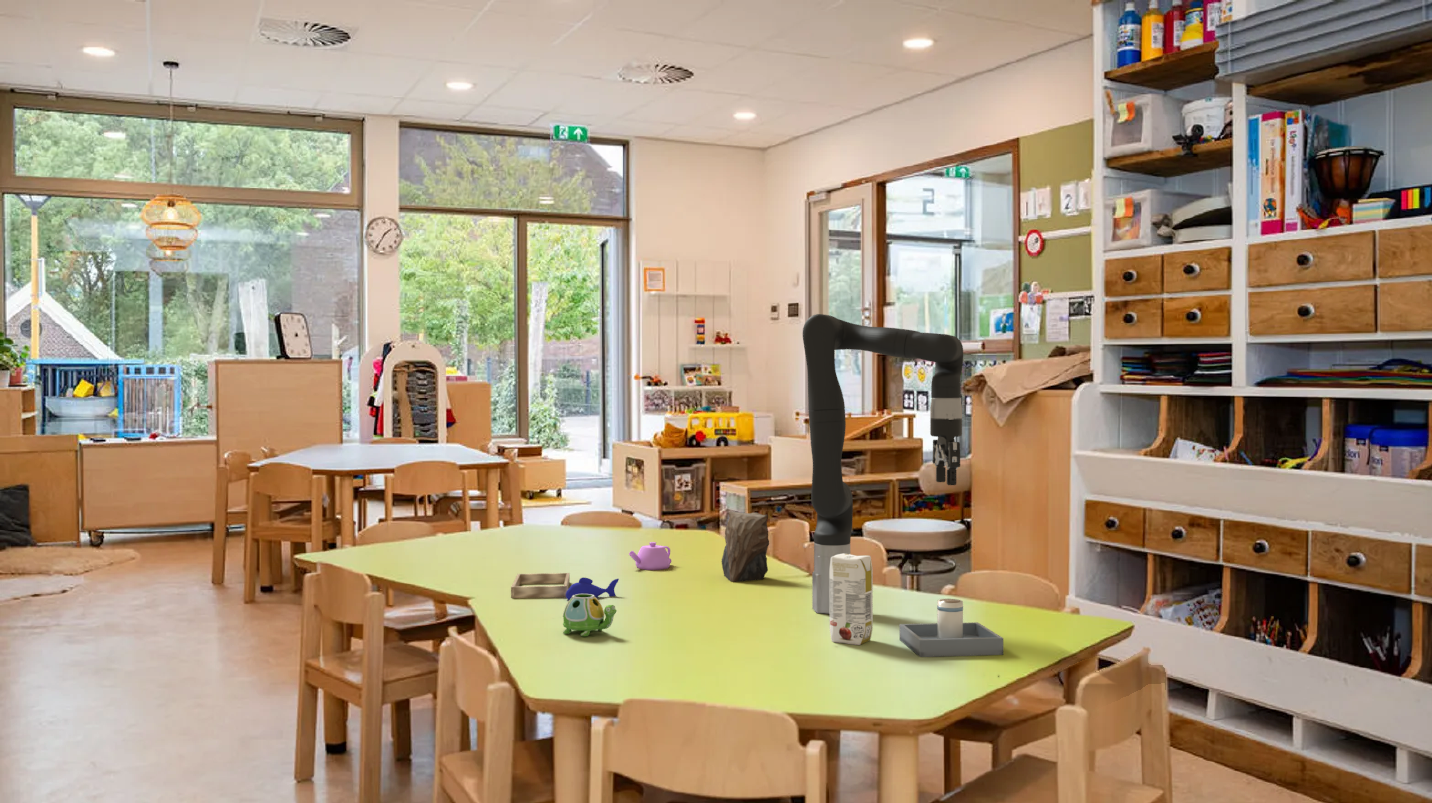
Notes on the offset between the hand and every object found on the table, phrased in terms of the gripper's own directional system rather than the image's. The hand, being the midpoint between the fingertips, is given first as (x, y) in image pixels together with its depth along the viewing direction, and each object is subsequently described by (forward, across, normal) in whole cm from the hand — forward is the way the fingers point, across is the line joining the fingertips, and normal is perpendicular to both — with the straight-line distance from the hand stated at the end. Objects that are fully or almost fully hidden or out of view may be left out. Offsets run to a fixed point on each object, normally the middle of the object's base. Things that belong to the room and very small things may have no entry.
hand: (946, 483), depth 267 cm
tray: (+33, +28, -8) cm, 44 cm away
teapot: (+33, -79, -69) cm, 110 cm away
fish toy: (+34, -33, -86) cm, 98 cm away
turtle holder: (+33, +5, -86) cm, 92 cm away
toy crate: (+33, -45, -100) cm, 115 cm away
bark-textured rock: (+33, -60, -41) cm, 81 cm away
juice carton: (+33, +20, -28) cm, 48 cm away
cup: (+32, +28, -8) cm, 43 cm away
